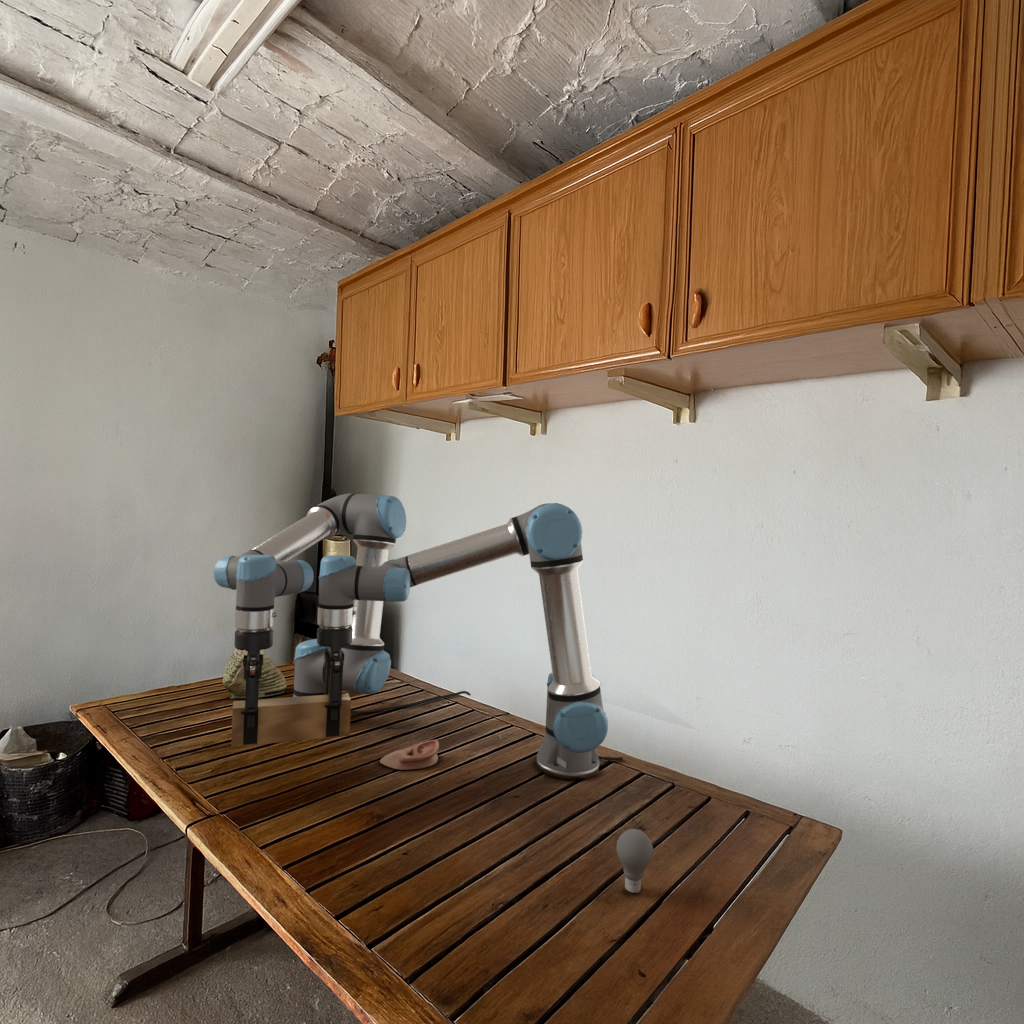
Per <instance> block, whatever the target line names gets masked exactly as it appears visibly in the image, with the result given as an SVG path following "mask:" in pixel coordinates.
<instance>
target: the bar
mask: <svg viewBox="0 0 1024 1024" xmlns="http://www.w3.org/2000/svg"><path fill="white" fill-rule="evenodd" d="M325 705H328V695H316V696H302V697H293V696H291V697H290V696H288V697H275V698H262V699H259V700H258V709H259V711H258V736H257V744H248V745H243V733H244V714H241V711H244V710H245V700H234V701H233V704H232V711H231V712H232V713H231V714H232V715H231V717H232V718H231V743H230V747H231V748H233V747H234V748H235V747H245V746H246V747H247V746H257V745H266V744H267V745H268V744H278V743H289V742H290V743H291V742H300V741H309V740H310V741H311V740H319V739H320V740H321V739H332V738H341V737H342V738H343V737H349V736H351V735H350V734H351V733H350V732H351V713H350V711H351V710H352V708H351V707H352V699H351V697H350V695H349V693H348V692H346V693H342V706H340V727H339V736H332V737H326V720H327V708H325Z"/></svg>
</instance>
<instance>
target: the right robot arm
mask: <svg viewBox="0 0 1024 1024" xmlns="http://www.w3.org/2000/svg"><path fill="white" fill-rule="evenodd" d="M582 538H583V527H582V523H581V520H580V518H579V517H578V515H577V514H576V513H575V511H574V510H572V509H571V508H570V507H569V506H567V505H564V504H563V503H558V502H553V503H552V502H551V503H550V502H549V503H543V504H540V505H537V506H536V507H534V508H532V509H530V510H528V511H526V512H524V513H521V514H519V515H516V516H514V517H510V518H509V519H508V521H507V523H505V524H502V525H499V526H496V527H492V528H489V529H486V530H483V531H479V532H477V533H474V534H471V535H467V536H464V537H461V538H458V539H454V540H452V541H449V542H445V543H442V544H439V545H436V546H433V547H429V548H426V549H424V550H420V551H418V552H414V553H411V554H408V555H406V556H402V557H399V558H395V559H394V558H393V559H388V561H387V562H384V563H383V564H382V565H381V566H379V567H371V566H358V565H356V557H354V556H351V555H344V554H343V555H340V554H339V555H335V554H332V555H325V556H323V557H322V558H321V560H320V567H319V576H318V605H317V621H316V623H317V625H318V628H317V629H316V630H317V631H316V639H317V643H318V644H319V645H320V646H324V647H327V646H328V648H326V650H325V651H324V659H325V687H324V691H325V695H328V705H325V708H327V720H326V737H332V736H339V727H340V706H342V694H343V690H342V677H343V665H344V663H343V661H344V653H343V651H341V647H343V646H347V645H350V644H351V643H352V636H353V628H352V627H351V626H350V625H352V624H353V616H352V615H355V614H356V611H355V610H353V606H354V600H370V601H383V602H389V603H394V602H395V603H396V602H397V603H399V602H405V601H407V600H408V599H409V595H410V592H411V591H410V590H411V588H413V587H416V586H418V585H422V584H425V583H428V582H431V581H435V580H437V579H441V578H444V577H448V576H450V575H451V576H452V575H454V574H457V573H461V572H463V571H466V570H469V569H473V568H476V567H479V566H482V565H486V564H489V563H491V562H495V561H498V560H501V559H504V558H507V557H511V556H513V555H518V556H521V557H524V556H527V555H529V563H530V568H531V569H532V570H533V571H534V572H536V573H537V574H538V578H539V585H540V586H539V587H540V592H541V600H542V608H543V615H544V622H545V629H546V637H547V644H548V651H549V658H550V659H549V660H550V665H551V672H550V673H549V674H548V676H547V682H546V686H547V687H546V688H547V689H546V690H547V692H546V709H545V730H544V731H545V732H544V736H543V737H542V740H541V744H540V746H539V748H538V752H537V754H536V767H537V768H538V770H539V771H540V772H541V773H543V774H545V775H547V776H550V777H553V778H557V779H563V780H585V779H589V778H592V777H594V776H596V775H597V774H598V773H599V772H600V760H603V761H623V759H624V758H623V757H622V756H617V757H615V756H602V755H600V756H599V753H598V750H597V748H599V747H600V746H601V744H603V742H604V741H605V739H606V737H607V735H608V732H609V719H608V716H607V714H606V712H605V711H604V705H603V698H602V697H603V696H602V690H601V685H600V684H601V683H600V681H599V680H598V679H597V678H596V676H595V675H594V674H592V667H591V661H590V660H591V659H590V653H589V645H588V638H587V630H586V623H585V615H584V607H583V600H582V594H581V593H582V592H581V585H580V578H579V568H580V566H581V565H582V564H583V563H584V556H583V548H582Z"/></svg>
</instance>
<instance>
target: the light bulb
mask: <svg viewBox="0 0 1024 1024" xmlns="http://www.w3.org/2000/svg"><path fill="white" fill-rule="evenodd" d="M615 849H616V854H617V857H618V859H619V861H620V863H621V865H622V867H623V873H624V874H623V875H624V876H625V878H624V888H625V890H627V891H628V892H630V893H634V894H635V893H639V892H640V891H641V889H642V887H641V886H642V879H643V877H644V875H645V871H646V868H647V867H648V866H649V864H650V863H651V861H652V859H653V855H654V847H653V843H652V841H651V838H649V836H648V835H647V834H646V833H645V832H643V831H642V830H641V829H636V828H629V829H627V830H625V831H623V832H622V833H621V834H620V835H619V837H618V839H617V841H616V847H615Z"/></svg>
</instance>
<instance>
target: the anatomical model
mask: <svg viewBox="0 0 1024 1024" xmlns="http://www.w3.org/2000/svg"><path fill="white" fill-rule="evenodd" d="M439 748H440V743H439V741H438V740H437V739H431V740H430V739H429V740H426V741H423V742H419V743H416V744H414V745H412V746H409V747H406V748H403V749H400V750H399V749H398V750H395V751H392V752H390V753H388V754H386V755H384V756H383V757H382V758H380V760H379V763H380V764H382V765H384V766H385V767H388V768H390V769H394V770H399V771H400V770H401V771H403V770H404V771H405V770H419V769H424V768H428V767H431V766H433V765H435V764H437V763H438V760H439V756H438V754H437V753H438V752H439Z"/></svg>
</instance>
